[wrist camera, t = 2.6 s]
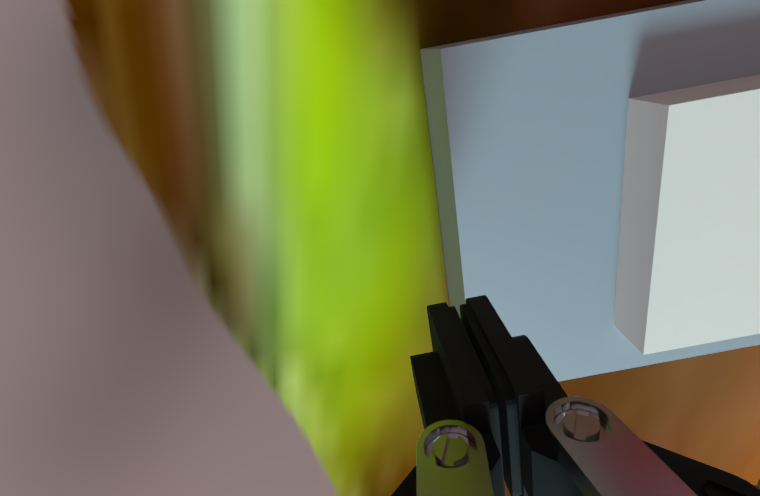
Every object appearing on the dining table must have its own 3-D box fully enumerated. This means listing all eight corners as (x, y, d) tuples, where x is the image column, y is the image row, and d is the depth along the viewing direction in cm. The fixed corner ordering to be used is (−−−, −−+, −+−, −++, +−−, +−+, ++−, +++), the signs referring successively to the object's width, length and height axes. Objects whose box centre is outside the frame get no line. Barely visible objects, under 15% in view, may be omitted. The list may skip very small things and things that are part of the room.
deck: (419, 48, 17) (440, 49, 14) (775, -17, 17) (891, -34, 14) (454, 341, 23) (474, 396, 19) (720, 292, 23) (791, 338, 19)
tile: (628, 98, 15) (668, 105, 13) (808, 65, 15) (874, 67, 13) (613, 324, 18) (643, 354, 16) (756, 298, 18) (802, 325, 16)
